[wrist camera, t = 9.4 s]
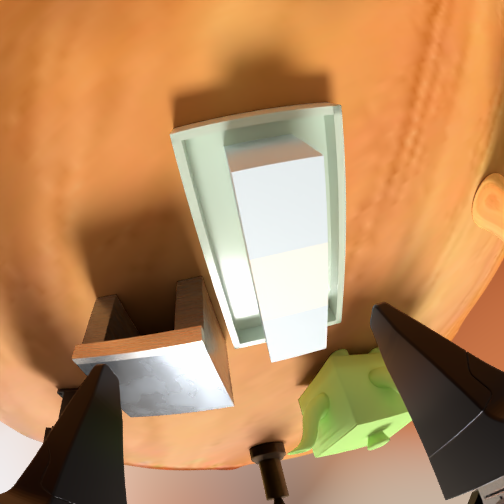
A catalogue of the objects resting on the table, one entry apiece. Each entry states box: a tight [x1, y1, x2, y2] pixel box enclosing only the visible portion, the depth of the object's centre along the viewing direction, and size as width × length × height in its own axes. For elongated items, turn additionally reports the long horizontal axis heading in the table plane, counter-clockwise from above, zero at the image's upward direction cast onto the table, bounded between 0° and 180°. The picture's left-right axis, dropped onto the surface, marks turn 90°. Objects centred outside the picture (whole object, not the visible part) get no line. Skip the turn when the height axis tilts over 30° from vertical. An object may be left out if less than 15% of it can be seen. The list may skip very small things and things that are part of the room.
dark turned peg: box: [250, 442, 289, 504], centre depth 38 cm, size 7×6×18 cm
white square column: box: [224, 134, 328, 363], centre depth 18 cm, size 14×4×5 cm, turn 9°
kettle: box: [288, 347, 412, 458], centre depth 27 cm, size 15×14×11 cm
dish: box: [170, 102, 346, 349], centre depth 19 cm, size 17×9×2 cm, turn 9°
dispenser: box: [72, 276, 234, 417], centre depth 20 cm, size 9×9×7 cm
